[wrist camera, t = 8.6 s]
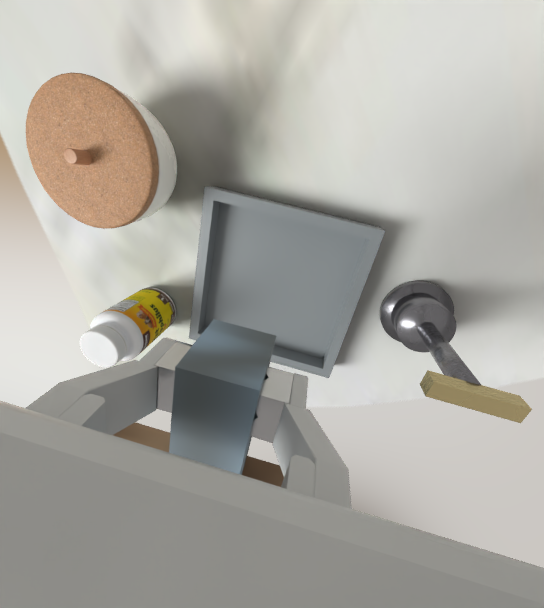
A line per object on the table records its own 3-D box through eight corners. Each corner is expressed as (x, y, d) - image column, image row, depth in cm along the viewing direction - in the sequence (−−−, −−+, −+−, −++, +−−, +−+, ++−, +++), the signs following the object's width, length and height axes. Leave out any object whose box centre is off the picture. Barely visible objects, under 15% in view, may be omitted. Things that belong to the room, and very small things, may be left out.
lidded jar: (156, 75, 26) (73, 23, 17) (213, 191, 29) (167, 194, 20) (77, 136, 29) (-26, 118, 20) (136, 234, 32) (68, 252, 24)
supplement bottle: (181, 327, 36) (132, 377, 27) (141, 325, 37) (80, 372, 28) (174, 286, 34) (118, 325, 25) (132, 284, 35) (63, 322, 25)
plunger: (370, 330, 32) (399, 425, 19) (394, 273, 29) (447, 341, 16) (432, 347, 31) (503, 455, 19) (463, 290, 28) (571, 374, 16)
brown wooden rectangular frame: (379, 363, 10) (401, 430, 7) (299, 541, 15) (294, 621, 12) (118, 293, 11) (48, 331, 8) (124, 485, 16) (82, 549, 13)
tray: (214, 186, 28) (204, 186, 26) (380, 227, 27) (385, 231, 25) (197, 328, 36) (188, 338, 33) (328, 365, 34) (328, 378, 32)
